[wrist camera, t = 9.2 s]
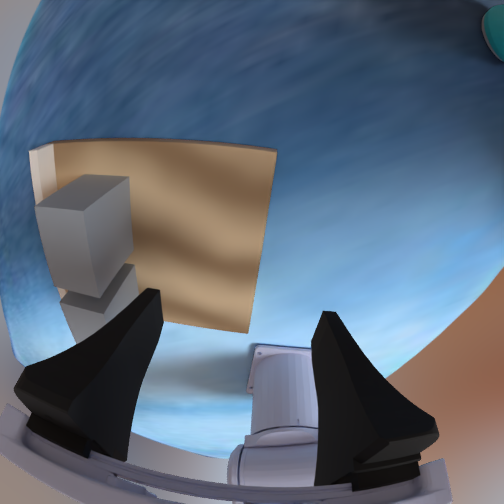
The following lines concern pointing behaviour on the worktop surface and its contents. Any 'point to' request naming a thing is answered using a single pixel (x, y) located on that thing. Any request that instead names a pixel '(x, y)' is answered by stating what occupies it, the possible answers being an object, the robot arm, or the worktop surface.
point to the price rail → (44, 177)
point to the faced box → (99, 304)
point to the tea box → (87, 232)
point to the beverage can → (494, 30)
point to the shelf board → (187, 219)
